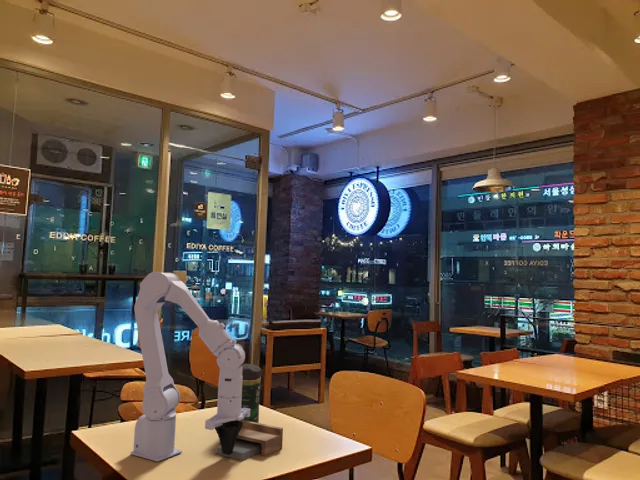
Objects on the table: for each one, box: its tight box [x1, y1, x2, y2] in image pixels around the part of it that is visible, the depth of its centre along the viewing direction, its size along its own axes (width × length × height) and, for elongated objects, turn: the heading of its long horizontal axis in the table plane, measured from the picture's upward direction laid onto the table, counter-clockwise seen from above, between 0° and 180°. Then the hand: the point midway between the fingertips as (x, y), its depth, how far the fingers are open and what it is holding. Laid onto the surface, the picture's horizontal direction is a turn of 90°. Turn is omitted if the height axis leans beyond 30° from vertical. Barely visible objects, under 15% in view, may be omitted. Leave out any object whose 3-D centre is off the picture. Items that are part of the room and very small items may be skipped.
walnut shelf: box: [236, 420, 284, 457], centre depth 127 cm, size 14×8×5 cm, turn 61°
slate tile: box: [216, 439, 262, 461], centre depth 123 cm, size 8×8×2 cm
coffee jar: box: [239, 363, 262, 423], centre depth 141 cm, size 10×8×19 cm
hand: (227, 453), depth 119 cm, fingers closed
